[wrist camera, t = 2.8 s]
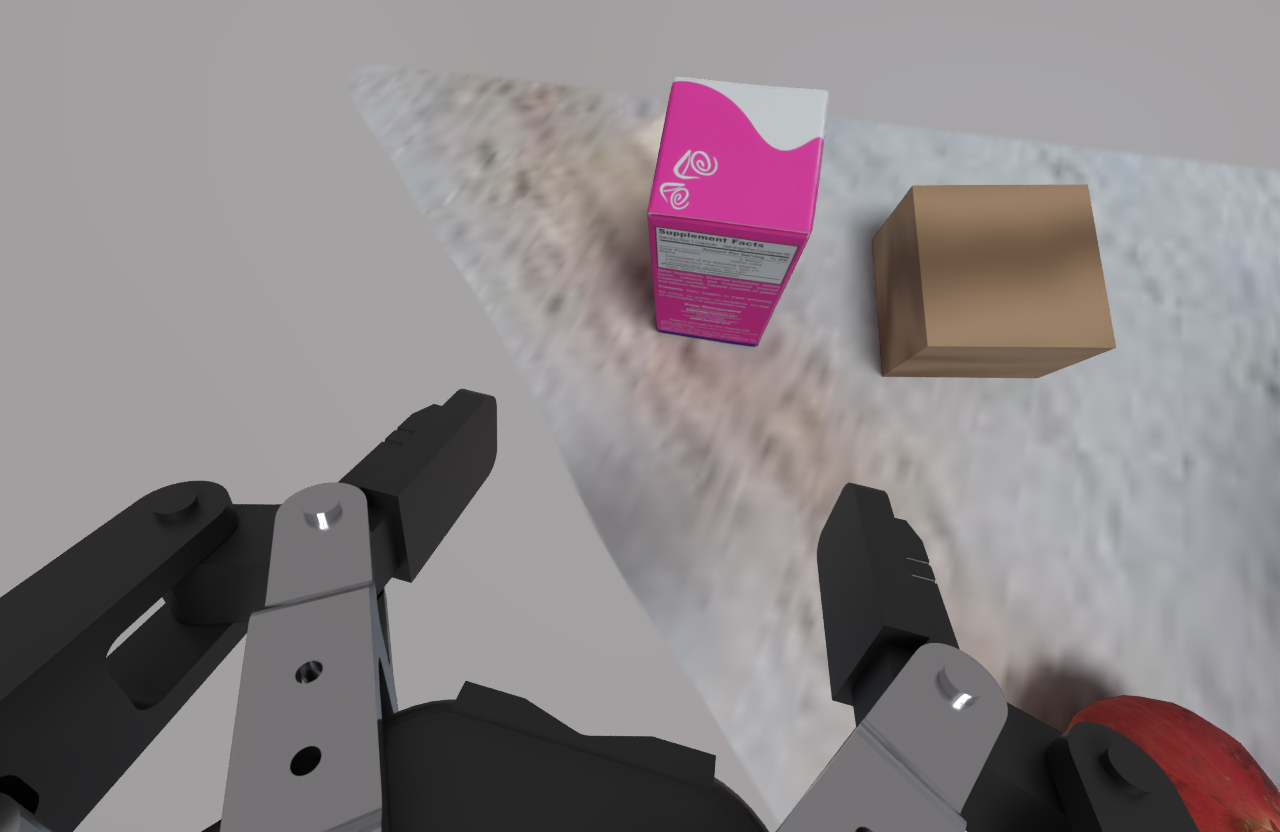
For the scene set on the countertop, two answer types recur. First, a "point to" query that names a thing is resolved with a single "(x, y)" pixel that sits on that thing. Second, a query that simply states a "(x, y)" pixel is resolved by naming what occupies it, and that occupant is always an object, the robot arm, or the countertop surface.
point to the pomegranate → (1195, 762)
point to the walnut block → (990, 282)
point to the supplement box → (732, 204)
